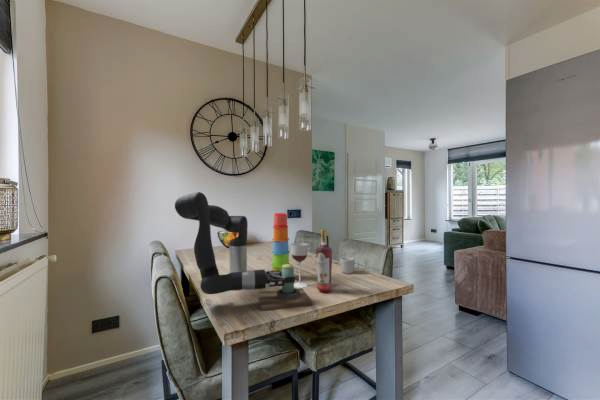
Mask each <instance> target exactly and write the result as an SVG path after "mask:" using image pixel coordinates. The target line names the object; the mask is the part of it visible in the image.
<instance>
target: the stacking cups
mask: <svg viewBox="0 0 600 400" xmlns="http://www.w3.org/2000/svg"><path fill="white" fill-rule="evenodd" d="M272 228H273V237H272V241H273V244H272V246H273V247H272V248H273V249H272V250H273V251H271V253H272V263H271V266H272V271H275V270H280V271H282V265H284V264H291V263H290V250H289V240H290V238H289V235H288V234H289V232H288V231H289V230H288V229H289V225H288V214H287V213H286V212H278V213H277V212H276V213H274V215H273V226H272Z"/></svg>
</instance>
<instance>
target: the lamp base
mask: <svg viewBox="0 0 600 400" xmlns="http://www.w3.org/2000/svg"><path fill="white" fill-rule="evenodd" d="M257 298H258V302H259V306H260V311H267V310H270V311H271V310H278V309H286V308H287V309H288V308H297V307H305V306H306V307H307V306H313V301H312V299H311V298H310V297H309V295H308V294H307V293H306V291H305V290H304V287H303V288H297V287H294V294H282V288H280V289H278V290H269V291H258V292H257Z"/></svg>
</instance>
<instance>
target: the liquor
mask: <svg viewBox="0 0 600 400" xmlns="http://www.w3.org/2000/svg"><path fill="white" fill-rule="evenodd" d="M320 234H321V238H320V239H321V240H320V246H318V247H317V248H316V249H315V255H316V257H315V258H316V269H317V271H316V273H317V288H316V289H317V290H318V291H319V292H321V293H323V294H324V293H329V292H330V291H332V289H333V287H332V268H333V267H332V265H333V249H332V248H331V247H330V246H328V240H327V239H328V238H327V236H328V235H327V234H328V230H327V228H325V229H324V228H321V229H320Z"/></svg>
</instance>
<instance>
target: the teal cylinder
mask: <svg viewBox="0 0 600 400" xmlns="http://www.w3.org/2000/svg"><path fill="white" fill-rule="evenodd" d="M294 268H295V267H294V265H293V264H291V263H290V264H284V265H282V277H295V273H294V272H295V271H294ZM294 284H295V282H294V283H286V284H285V286H281V289H282V294H294V288H295V287H294Z"/></svg>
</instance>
